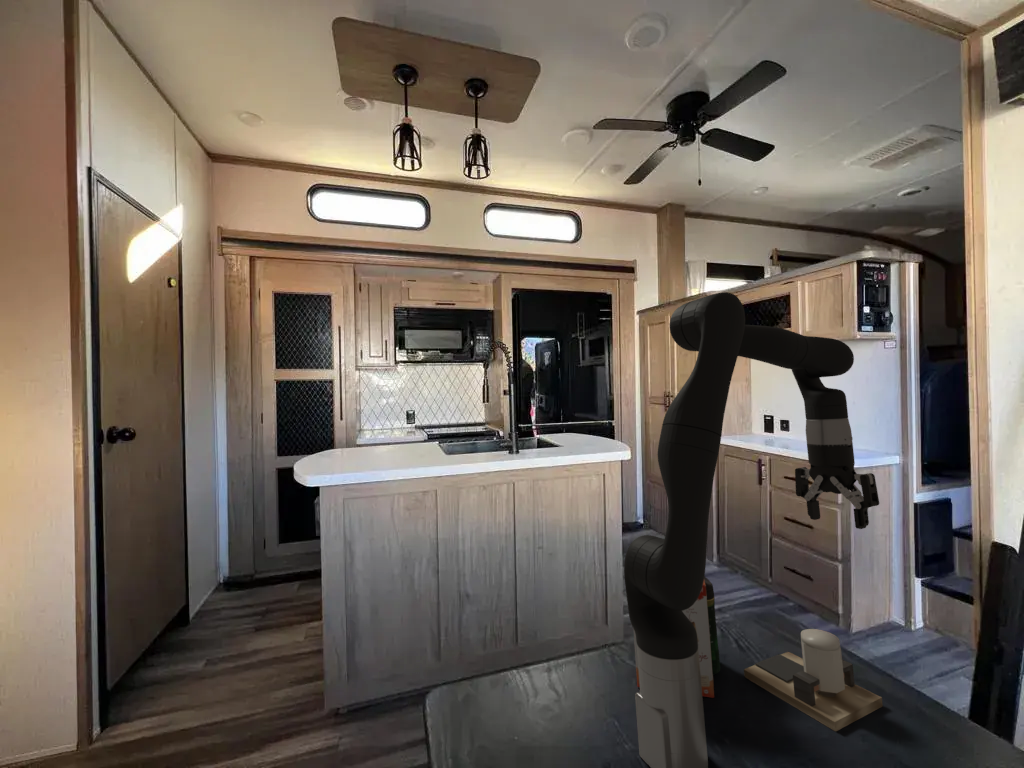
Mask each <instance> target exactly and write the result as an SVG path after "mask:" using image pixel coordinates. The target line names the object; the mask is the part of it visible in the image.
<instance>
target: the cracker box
mask: <svg viewBox="0 0 1024 768" xmlns="http://www.w3.org/2000/svg"><path fill="white" fill-rule="evenodd" d="M682 612H683V613H684V614H685V616H686V617H687V618H688V619H689V620H690V621H691V622H692V624H693V625H694V627H695V629H696V632H697V638H698V650H699V662H700V674H701V686H702V697H705V698H706V697H707V698H711V699H714V698H715V690H714V689H715V687H714V686H715V685H714V675H713V672H712V659H711V646H710V633H709V620H708V608H707V594H706V585H705V581H704V582H703V586H702V589H701V592H700V595H699V597H698V599H697V600H696V602H695V603H694V604H693V605H692V606H691V607H690V608H688V609H686V610H683V611H682ZM632 630H633V643H634V656H635V658H634V659H635V671H636V672H635V673H636V683H637V684H636V686H637V687H638V688H640V684H639V670H638V655H637V642H636V634H635V631H634V629H633V628H632Z"/></svg>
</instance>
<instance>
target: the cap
mask: <svg viewBox="0 0 1024 768" xmlns="http://www.w3.org/2000/svg"><path fill="white" fill-rule="evenodd" d="M800 641H801V642H800V643H801V653H802V659H803V665H804V672H806V673H808V674H810V675H812V676H814V677H816V678H818V679H819V681H820V684H819V685H817V686H815V687H814V692H815V691H817V690H820V691H825V692H832V693H838V692H840V691H842V690H845V683H844V678H845V676H844V673H843V664H842V660H843V656H842V654H843V653H842V648H841V644H840V642H841V641H840V639H839V637H838V636H836V635H835V634H833V633H831V632H829V631H826V630H821V629H816V628H808V629H807V628H806V629H803V630H801V632H800Z"/></svg>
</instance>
